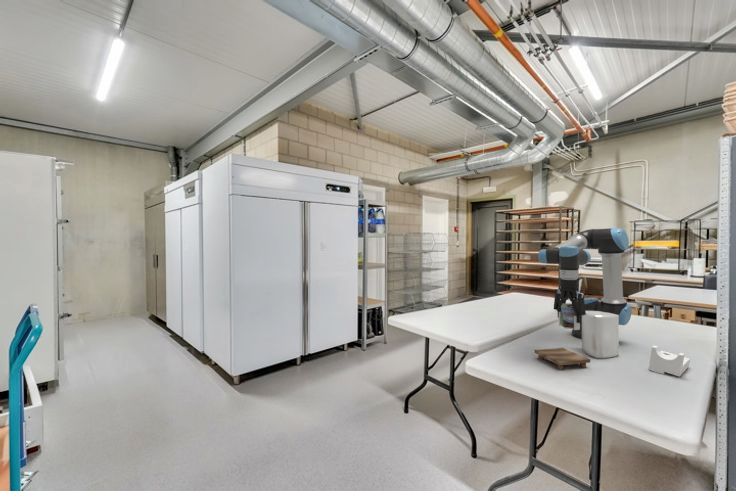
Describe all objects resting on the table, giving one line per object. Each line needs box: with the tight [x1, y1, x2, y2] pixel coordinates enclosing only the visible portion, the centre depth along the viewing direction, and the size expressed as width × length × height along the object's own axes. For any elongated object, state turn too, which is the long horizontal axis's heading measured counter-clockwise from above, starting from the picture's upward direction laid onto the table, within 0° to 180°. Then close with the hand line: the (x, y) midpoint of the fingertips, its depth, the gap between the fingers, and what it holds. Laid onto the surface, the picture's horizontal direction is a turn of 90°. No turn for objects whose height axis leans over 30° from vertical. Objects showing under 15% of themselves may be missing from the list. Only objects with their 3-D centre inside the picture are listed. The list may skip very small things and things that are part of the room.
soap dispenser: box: [581, 311, 620, 359], centre depth 159 cm, size 15×14×22 cm
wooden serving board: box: [534, 347, 591, 371], centre depth 150 cm, size 16×16×4 cm
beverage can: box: [561, 302, 576, 330], centre depth 148 cm, size 6×7×12 cm
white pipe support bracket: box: [648, 344, 691, 378], centre depth 141 cm, size 18×10×10 cm, turn 126°
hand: (569, 327), depth 148 cm, fingers closed on beverage can, 7 cm apart
